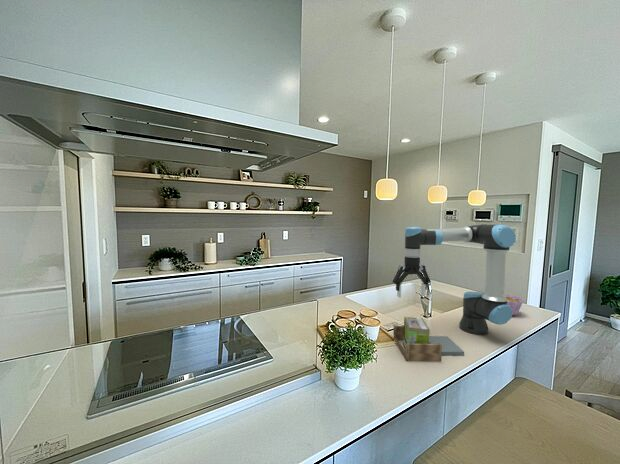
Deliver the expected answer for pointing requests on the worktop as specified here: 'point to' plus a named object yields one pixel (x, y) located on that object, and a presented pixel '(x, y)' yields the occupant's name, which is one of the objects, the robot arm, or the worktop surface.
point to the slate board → (446, 346)
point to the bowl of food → (513, 303)
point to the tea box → (415, 331)
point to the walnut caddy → (417, 348)
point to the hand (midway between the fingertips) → (411, 296)
